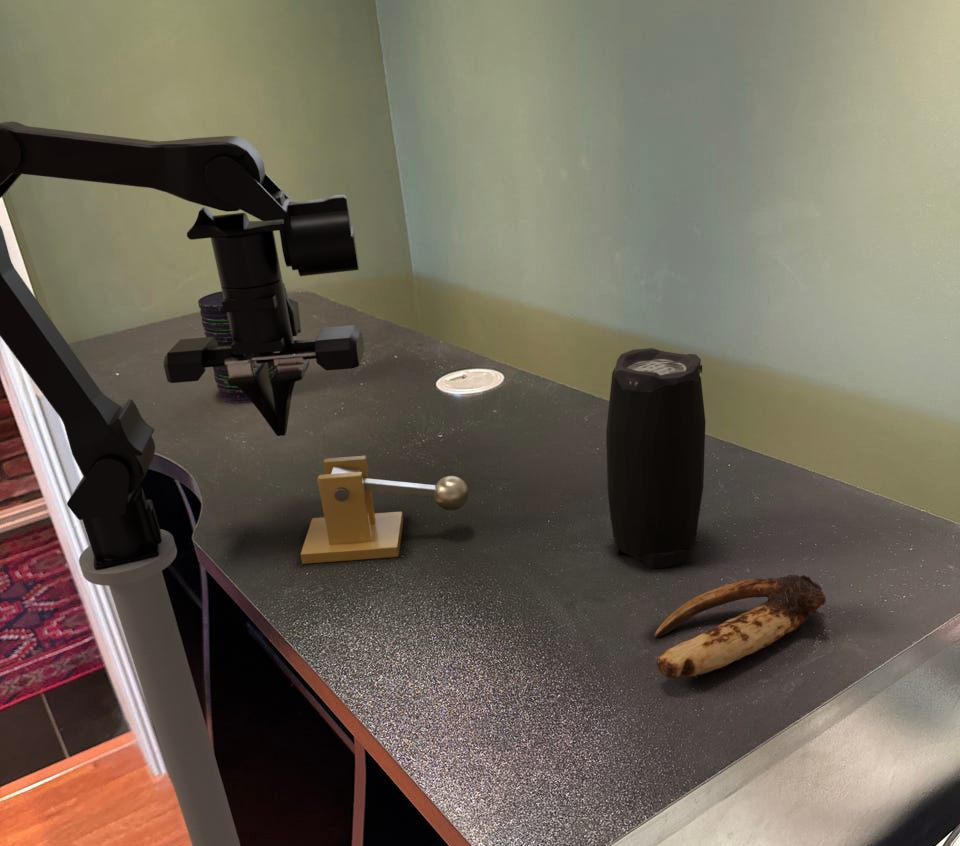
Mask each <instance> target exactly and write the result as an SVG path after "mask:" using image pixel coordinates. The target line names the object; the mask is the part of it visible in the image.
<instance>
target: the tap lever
mask: <svg viewBox="0 0 960 846" xmlns="http://www.w3.org/2000/svg"><path fill="white" fill-rule="evenodd" d="M351 472H360V469H353V468H343V467H333V469H332V472H331V474H338V473H351ZM363 481H364V488H365V491H370V492H372V493H381V494H391V495H402V496H411V497H421V498H429V499H430V498H431V499H434V501H435V503H436V504H437V505H438V506H439V507H440V508H441V509H443V510H446V511H457V510H459V509H461V508H462V507H464V505H465V504H466V503H467V501H468V498H469V487H468V485H467V484H466V482H465V481H464V480H463V479H462V478H461V477H458V476H456V475H447V476H444V477H442V478H440V479H439V480H438V481H437V482H436V484H425V483H416V482H408V481H407V482H406V481H397V480H396V481H395V480H385V479H377V478H370V479H367V478H363Z"/></svg>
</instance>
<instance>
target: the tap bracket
mask: <svg viewBox="0 0 960 846" xmlns="http://www.w3.org/2000/svg"><path fill="white" fill-rule="evenodd" d="M322 464H323V470H324V474H318V477H317V484H318V490H319V495H320V500H321V506H322V511H323V516H322V517H321V516H320V517H312V518H311V520H310V523H309V527H308V529H307V533H306V536H305V539H304V542H303V545H302V548H301V552H300V560H301V563H302V564H303V565H307V564H320V563H321V564H322V563H334V562H335V563H336V562H345V561H347V562H348V561H360V560H374V559H389V558H398V557H399V556H400V549H401V542H402V536H403V535H402V534H403V529H404V528H403V527H404V521H405V520H404V514H403V511H401V510H400V511H389V512H388V511H387V512H376V513H375V506H374V499H373V492H370V491H365V488H364V481H363V478H367V479H371V478H370V472H369V467H368V466H369V465H368V461H367V455H356V456H355V455H354V456H341V457H327V458H324V459H323V461H322ZM333 467H343V468H353V469H360V472H351V473H338V474H331V472H332V469H333Z"/></svg>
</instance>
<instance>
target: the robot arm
mask: <svg viewBox="0 0 960 846" xmlns="http://www.w3.org/2000/svg"><path fill="white" fill-rule="evenodd" d="M21 175H29V176H35V177H36V176H37V177H45V178H46V177H47V178H56V179H65V180H73V181H83V182H91V183H100V184H101V183H102V184H109V185H118V186H119V185H120V186H129V187H138V188H146V189H147V188H148V189H153V190H156V191H159V192H160V191H161V192H164V193H167V194H170V195H172V196H174V197H176V198H179V199H182V200H184V201H187V202H190V203H193V204H197V205H201V206H203V207H202V208H201V209H200V210H198V213H197V217H196V219H195V222H194V224H193V225H192V226H191V228H189V230H188V231H187V232H186V237H187V238H188V239H189V240H191V241H193V240H203V239H210V241H211V246H212V250H213V255H214V260H215V264H216V268H217V269H216V270H217V274H218V279H219V283H220V288H221V291H222V293H223V298H224V300H223V301H222V306H223V311H224V313H227V316H228V321H229V326H230V330H231V335H232V340H233V343H232V344H231V346H221V347H218V343H217V341H216V340H215V339H214V337H206V336H205V337H193V338H192V337H191V338H181V339H179V340H178V341H177V342H176V343H175V344H174V345H173V346H172V347H171V349H169V350H168V352H167V353H166V355H165V356H164V358H163V369H164V373H165V377H166V381H167V382H168V383H171V384H176V383H178V384H179V383H189V382H191V383H192V382H199V380H200V379H201V378H202V376H203V375H204V373H205V372H206V368H213V367H219V366H227V369H228V374H229V379H228V380H227V383H228V385H229V386H237V387H238V388H239V389H240V390H241V391H242V392H243V393H244V394H245V395H246V396H247V397H248V398H249V400H250V401H251V402H250V403H252V404H253V405H254V406H255V408H256V409H257V411H258V412H259V413H260V414H261V416H262V417H263V419H264V420H265V421H266V423H267V424H268V426H269V427H270V428H271V430H272V431H273V433H274V434H275V435H276V436H277V437H283V436H286V434H287V431H288V423H289V418H290V417H289V416H290V409H291V404H292V403H291V402H292V397H293V396H292V395H293V391H294V388H295V384H296V382H299V381H301V380H303V379H304V376H305V375H306V372H307V371H308V368H309V367H310V360H314V359H315V360H316V364H317V365H318V366H319V367H321V368H322V369H323V370H325V371H337V370H338V371H339V370H349V369H352V370H353V369H356V368H358V367H360V366H361V362H362V359H363V356H364V353H365V343H364V336H363V332H362V330H361V329H360V328H359V327H358V326H356V325H355V324H351V325H340V326H339V325H338V326H327V327H326V326H325V327H321V328H320V330H319V332H318V333H317V336H316V338H309V339H308V338H307V339H297V340H294V337H297V336H298V335H299V334H300V333H302V327H301V318H300V307H299V302H298V301H297V300H294V299H292V298H290V297H289V296H288V293H287V289H286V285H285V282H283V276H282V270H281V266H280V261H279V253H278V248H277V244H276V237H275V233H274V232H275V231H276V232H277V231H279V236H280V237H279V238H280V243H281V250H282V255H283V259H284V263H285V266H286V268H289V267H291V270H292V271H297V272H298V275H299V277H307V276H315V275H324V274H326V275H327V274H335V273H343V272H352V271H359V270H360V268H359V266H360V265H359V258H358V251H357V243H356V235H355V227H354V226H352V224H351V217H350V211H349V205H348V197H347V196H346V195H345V194H336V195H330V196H327V197H325V198H324V197H323V198H317V199H307V200H298V201H292V199H291V198H290V197H289V196H288V195H287V193H285V191H284V189H282V188H281V187H280V186H279V185H278V184H276V182H275V181H274V180H273V179H272V178H271V177H270V176H269V175H268V174H267V173H266V171H265V162H264V160H263V159H262V156H261V154H260V152H259V151H258V149H256V148H255V146H254V145H253V144H252V143H251V142H250V141H248V140H246V139H245V138H242V137H239V136H236V135H223V136H208V137H206V136H205V137H194V138H192V137H191V138H183V139H174V140H173V139H172V140H159V141H158V140H149V139H148V140H147V139H140V138H130V137H123V136H122V137H121V136H115V135H114V136H113V135H105V134H97V133H87V132H81V131H79V132H78V131H71V130H63V129H55V128H46V127H38V126H28V125H24V124H22V123H20V122H18V121H3V122H0V199H1V198H2V197H3V196H4V195H5V194H7V192H8V191H9V190H10V188H12V186H13V185H14V184H15V183H16V181H18V179H19V178H20V177H21ZM208 208H211V209H215V210H218V211H223V212H226V214H215V213H213V212H212V211H210V210H209V209H208ZM238 211H243V212H238ZM227 212H228V213H227ZM229 212H236V213H229ZM247 214H248V215H250V216H252V217H254V218H256V219H257V220H249V217H248V215H247ZM0 338H1V340H2V341H3V342H4V343H5V345H6V346H7V347H8V349H9V350H10V352H11V353H12V355H13V356H14V357H15V358H16V360H17V361H18V362H19V364H20V365H21V366H22V368H23V369H24V371H25V372H26V373H27V375H28V376H29V377H30V379H31V380H32V381H33V383H34V384H35V386H36V387H37V388H38V390H39V391H40V393H41V394H42V395H43V397H45V399H46V401H47V402H48V403H49V405H50V406H51V407H52V408H53V410H54V411H55V413H56V415H58V416H59V418H60V420H61V421H62V424H63V426H64V430H65V434H66V437H67V442H68V444H69V448H70V453H71V455H72V457H73V459H74V461H75V463H76V465H77V466H78V468H79V471H80V472H81V475H82V478H81V479H80V481H79V483H78V484H77V485H76V487H75V489H74V490H73V492H72V494H71V496H70V497H69V498H68V500H67V502H66V506H67V507H68V508H69V510H70V511H71V512H72V513H73V514H74V516H75V517H76V518H77V519H78V520H79V521H82V523H83V527H84V530H85V532H86V536H87V539H88V542H89V546H90V545H91V548H92V551H93V554H94V564H93V565H94V568H95V570H100V569H105V568H109V567H114V566H118V565H122V564H127V563H131V562H135V561H140V560H144V559H149V558H153V557H157V556H158V555H159V545H158V544H160V543H161V542H162V538H161V530H160V529H161V526H160V524H159V520H158V517H157V513H156V510H155V506H154V503H153V500H152V499H147V498H146V494H145V492H144V489H143V486H141V485H142V483H143V481H144V479H145V477H146V475H147V473H148V470H149V469H150V466H151V464H152V463H153V460H154V456H155V453H156V443H155V441H154V438H153V434H154V432H155V428H154V427H152V426H151V425H150V424H148V423H147V421H145V420H144V418H143V417H142V415H141V413H140V411H139V409H138V407H137V405H136V403H135V402H134V400H133V399H132V398H131V399H128V400H127V401H125V402H124V403H122V404H121V405H120V404H119V403H117V402H116V401H114V400H113V399H111V398H109V397H108V396H106V395H105V393H103V392H102V391H101V389H100V388H99V386H98V384H97V383H96V382H95V380H94V379H93V378H92V376H91V375H90V373H89V372H88V370H87V369H86V367H85V366H84V364H83V363H82V362H81V360H80V359H79V358H78V357H77V355H76V354H75V352H74V351H73V349H72V348H71V347H70V345H69V344H68V342H67V341H66V339H65V338H64V336H63V335H62V333H61V332H60V331H59V329H58V328H57V326H56V325H55V324H54V322H53V320H52V319H51V318H50V317H49V315H48V313H47V312H46V311H45V310H44V308H43V306H42V305H41V303H40V302H39V301H38V299H37V298H36V297H35V295H34V294H33V292H32V291H31V290H30V288H29V286H28V285H27V284H26V282H25V281H24V279H23V278H22V276H21V275H20V274H19V272H18V271H17V269H16V268H15V266H14V265H13V262H12V260H11V257H10V252H9V248H8V244H7V240H6V238H5V234H4V231H3V227H2V225H0ZM272 352H274V353H272ZM256 353H260V354H256ZM246 354H254V355H246ZM268 362H274V365H275V366H276V367H277V369H276V371H275V372H274V374H273V376H272V378H271V384H272V387H271V384H270V379H269V369H268Z"/></svg>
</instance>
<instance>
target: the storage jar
mask: <svg viewBox="0 0 960 846" xmlns="http://www.w3.org/2000/svg"><path fill="white" fill-rule="evenodd" d="M223 300H224V298H223V293H222V290H221V291H217V292H212V293H209V294H207V295H204V296H202V297H201V298H199V299H198V300H197V303H198V307H199V309H200V311H199V312H200V317H201V318H200V320H201V325H202V327H203V330H204V336H205V337H214V339H215V340H216V341H217V343H218V347H221V346H231V344H232V343H233V340H232V335H231V330H230V326H229V321H228V316H227V313H224V311H223V306H222V301H223ZM272 353H275V352H272ZM256 354H260V353H256ZM246 355H254V354H246ZM212 369H213V372H214V373H213V377H214V381H215V383H216V387H217V389H218V391H219V392H218V396H219V399H220V400H221V401H223V402H226V403H232V404H243V403H244V404H245V403H252V402H251V401H250V400H249V398H248V397H247V396H246V395H245V394H244V393H243V392H242V391H241V390H240V389H239V388H238V387H237V386H229V385H228V383H227V380H228V379H229V374H228V369H227V366H219V367H212ZM268 369H269V379H270V384H271V378H272V376H273V374H274V372H275V371H276V369H277V367H276V366H275V365H274V362H268ZM271 387H272V384H271Z"/></svg>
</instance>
